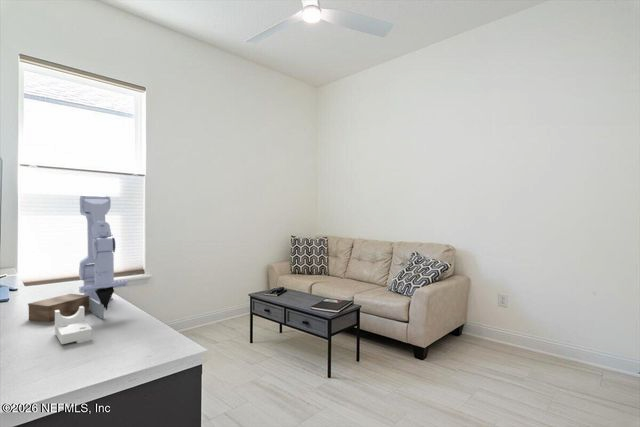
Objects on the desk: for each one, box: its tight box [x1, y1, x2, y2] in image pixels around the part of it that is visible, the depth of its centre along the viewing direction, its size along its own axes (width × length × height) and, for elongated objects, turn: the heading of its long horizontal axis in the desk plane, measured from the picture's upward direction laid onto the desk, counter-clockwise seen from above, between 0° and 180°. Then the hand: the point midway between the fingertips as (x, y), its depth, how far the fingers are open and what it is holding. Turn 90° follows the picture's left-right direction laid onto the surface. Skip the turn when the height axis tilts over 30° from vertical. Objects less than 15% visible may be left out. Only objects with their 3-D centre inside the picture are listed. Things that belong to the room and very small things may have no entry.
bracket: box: [54, 306, 93, 345], centre depth 102 cm, size 13×7×8 cm, turn 44°
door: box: [88, 298, 107, 320], centre depth 123 cm, size 14×2×5 cm, turn 48°
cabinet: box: [27, 293, 90, 324], centre depth 123 cm, size 14×10×6 cm
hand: (104, 309), depth 121 cm, fingers closed
